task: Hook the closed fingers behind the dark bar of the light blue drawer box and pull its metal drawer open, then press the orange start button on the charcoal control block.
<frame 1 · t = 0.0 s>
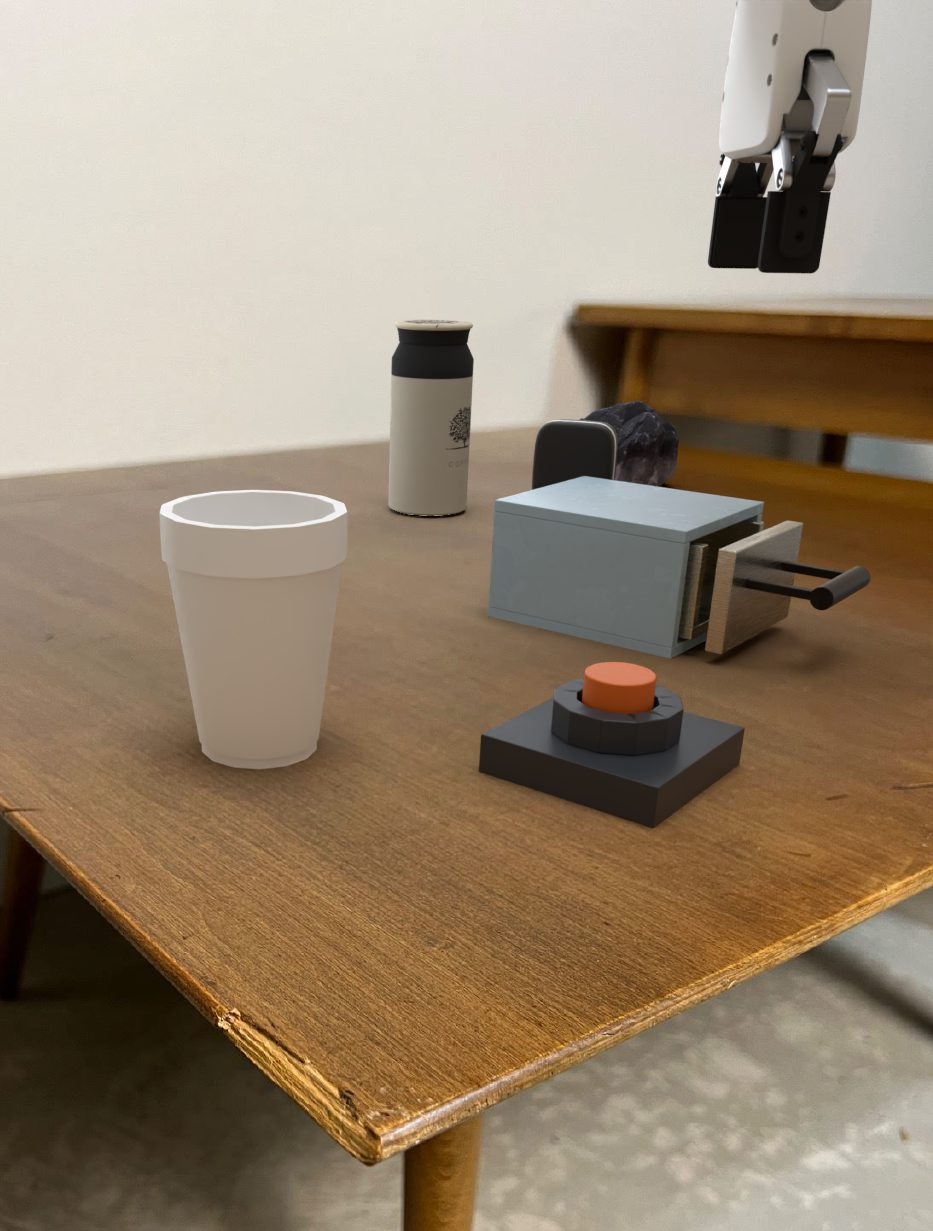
hand: (758, 269, 70), 24 cm above the table, tool pointing down, fingers open, 9 cm apart
crystal cluster: (611, 484, 137), on the table
travel mug: (427, 511, 122), on the table
light blue drawer box: (617, 617, 88), on the table
foam cup: (259, 749, 65), on the table
metal drawer: (709, 576, 83), point 4 cm above the table, slide at 2.0 cm
control block: (610, 769, 63), on the table
start button: (618, 689, 61), point 4 cm above the table, slide at 0.1 cm
battery charger: (567, 554, 107), on the table
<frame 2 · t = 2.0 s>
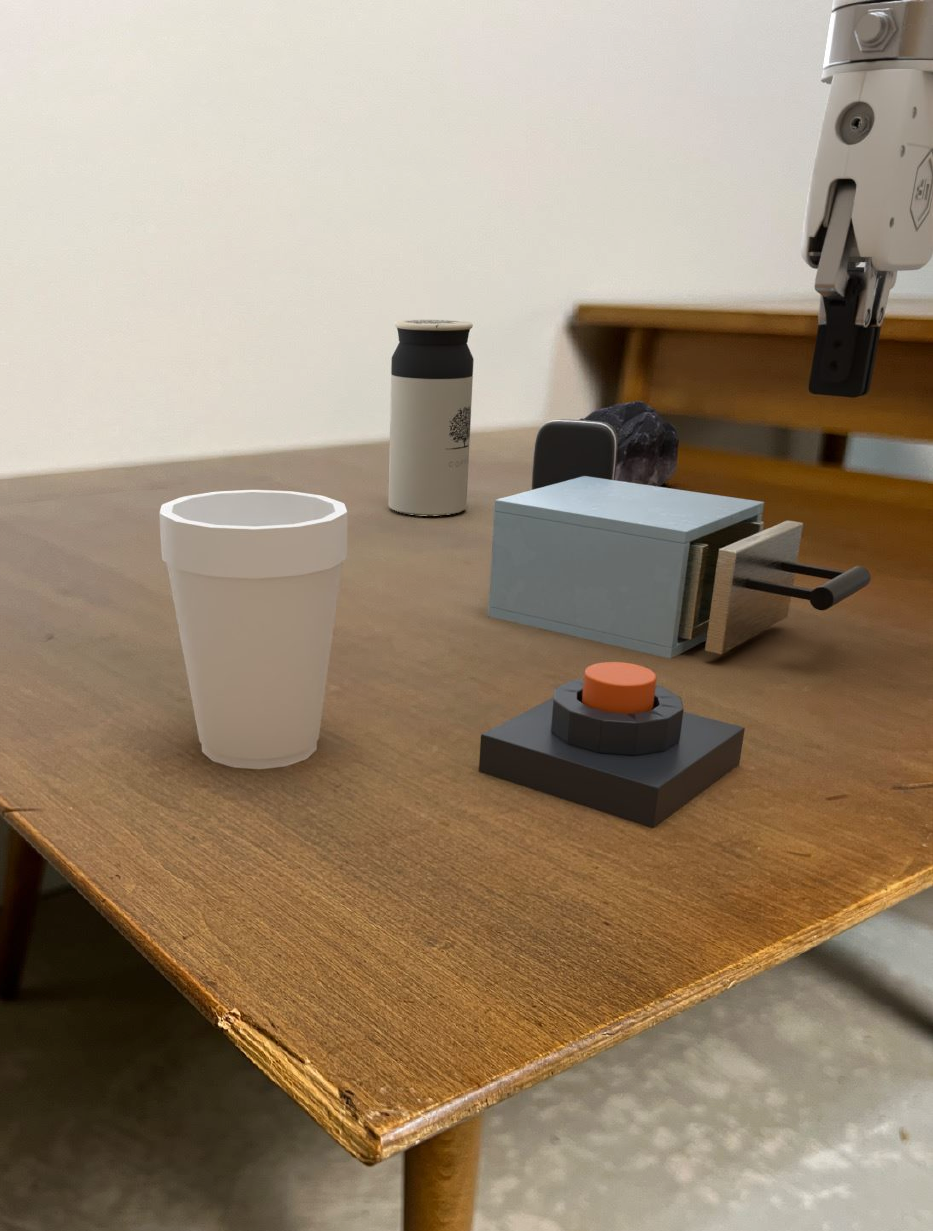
hand: (837, 393, 74), 17 cm above the table, tool pointing down, fingers closed
nothing on the table moved.
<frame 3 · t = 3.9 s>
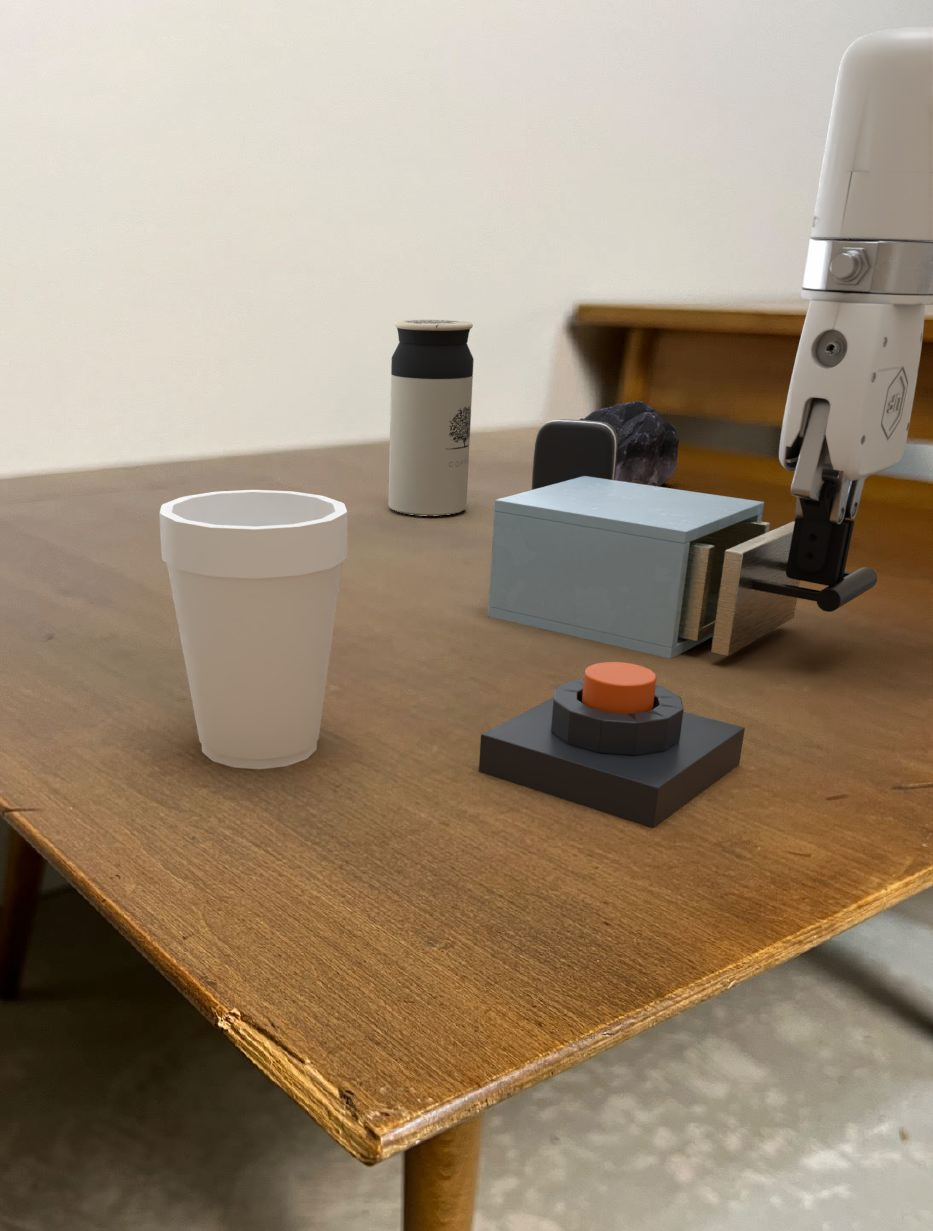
hand: (813, 578, 78), 5 cm above the table, tool pointing down, fingers closed
metal drawer: (715, 577, 83), point 4 cm above the table, slide at 2.4 cm, touching gripper
everything else where it was.
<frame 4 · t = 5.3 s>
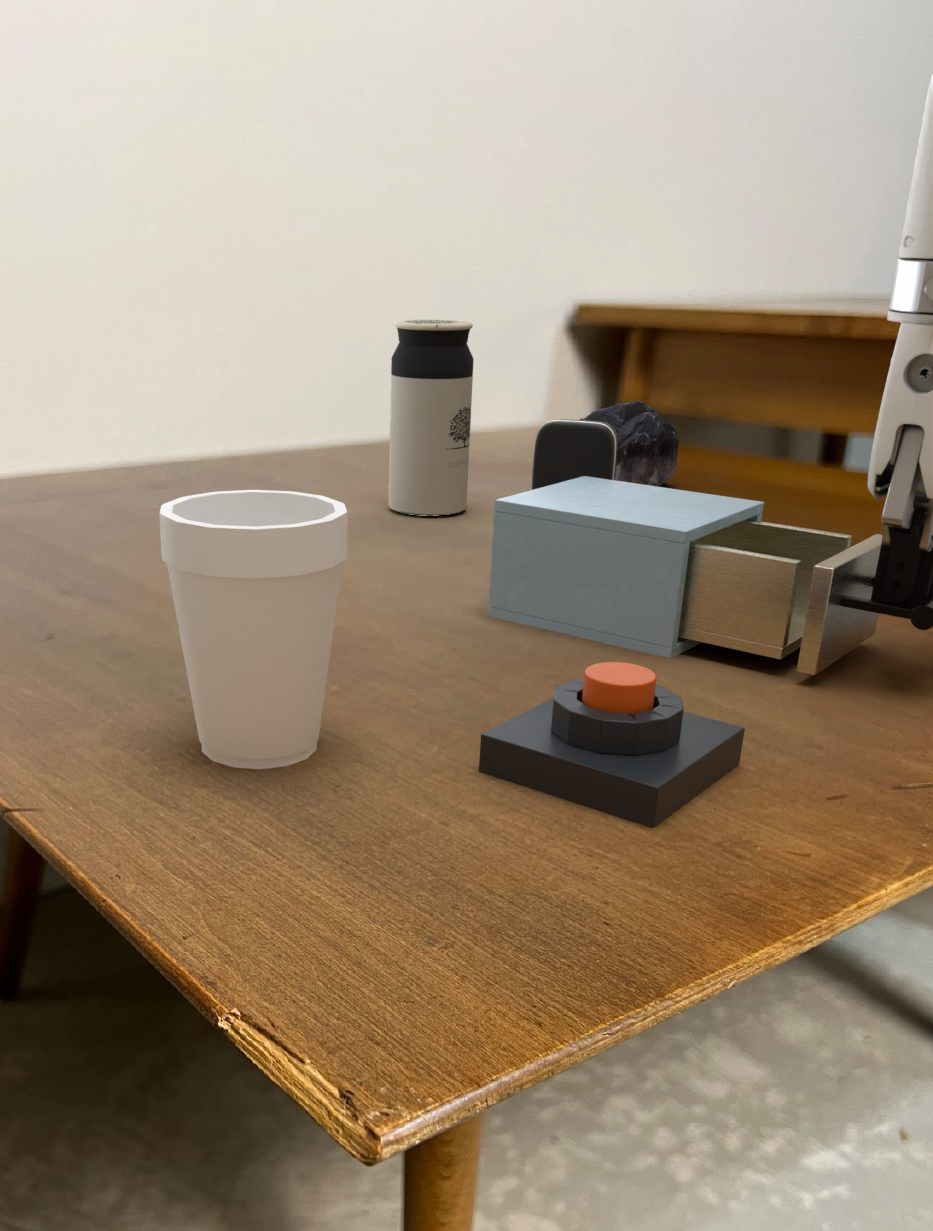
hand: (899, 607, 75), 5 cm above the table, tool pointing down, fingers closed
metal drawer: (796, 592, 79), point 4 cm above the table, slide at 8.1 cm, touching gripper
everything else where it was.
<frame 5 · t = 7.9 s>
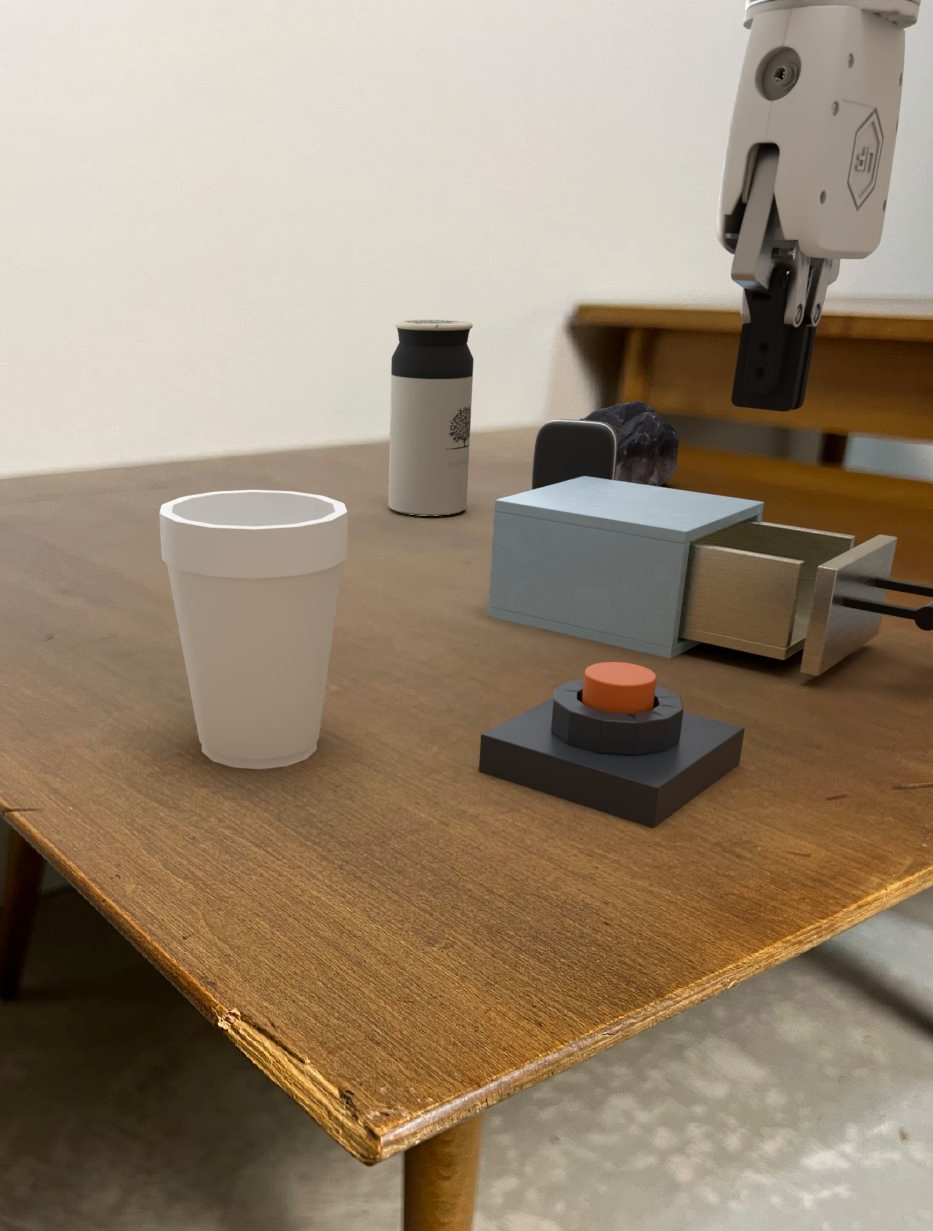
hand: (766, 406, 61), 18 cm above the table, tool pointing down, fingers closed
metal drawer: (800, 593, 79), point 4 cm above the table, slide at 8.3 cm
everything else where it was.
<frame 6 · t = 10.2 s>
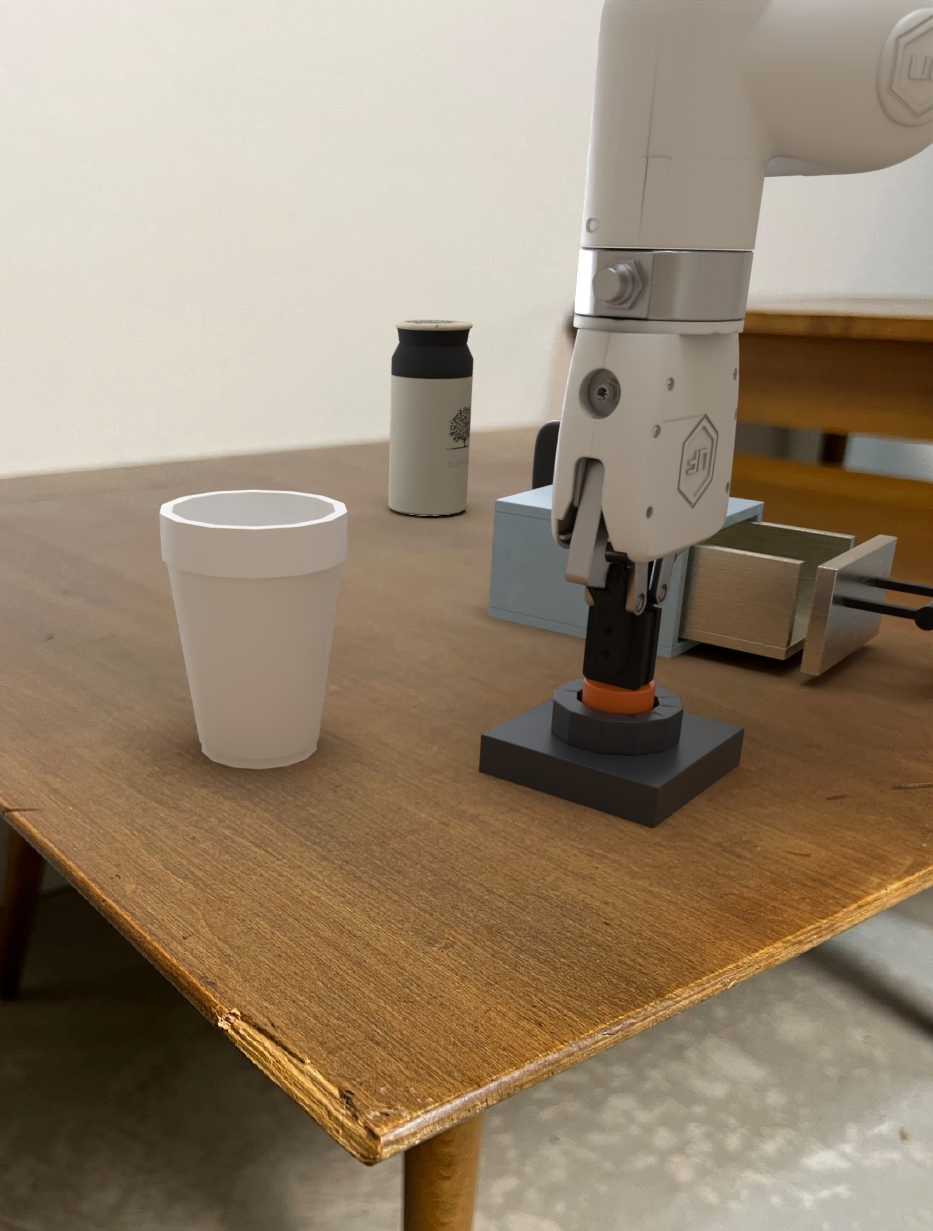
hand: (617, 680, 61), 5 cm above the table, tool pointing down, fingers closed
start button: (618, 696, 62), point 4 cm above the table, slide at -0.3 cm, touching gripper
everything else where it was.
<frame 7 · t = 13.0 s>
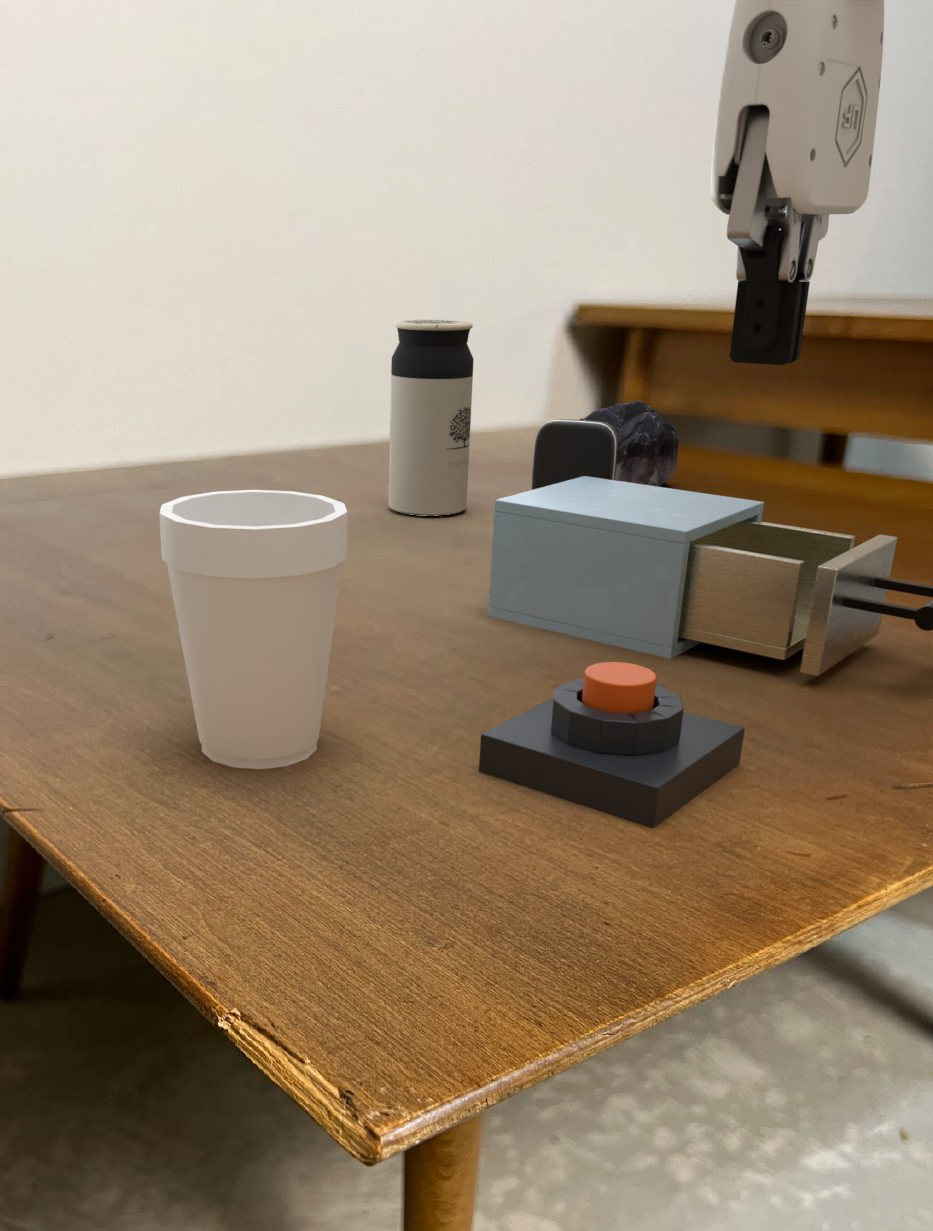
hand: (763, 361, 64), 20 cm above the table, tool pointing down, fingers closed
start button: (618, 689, 61), point 4 cm above the table, slide at 0.1 cm
everything else where it was.
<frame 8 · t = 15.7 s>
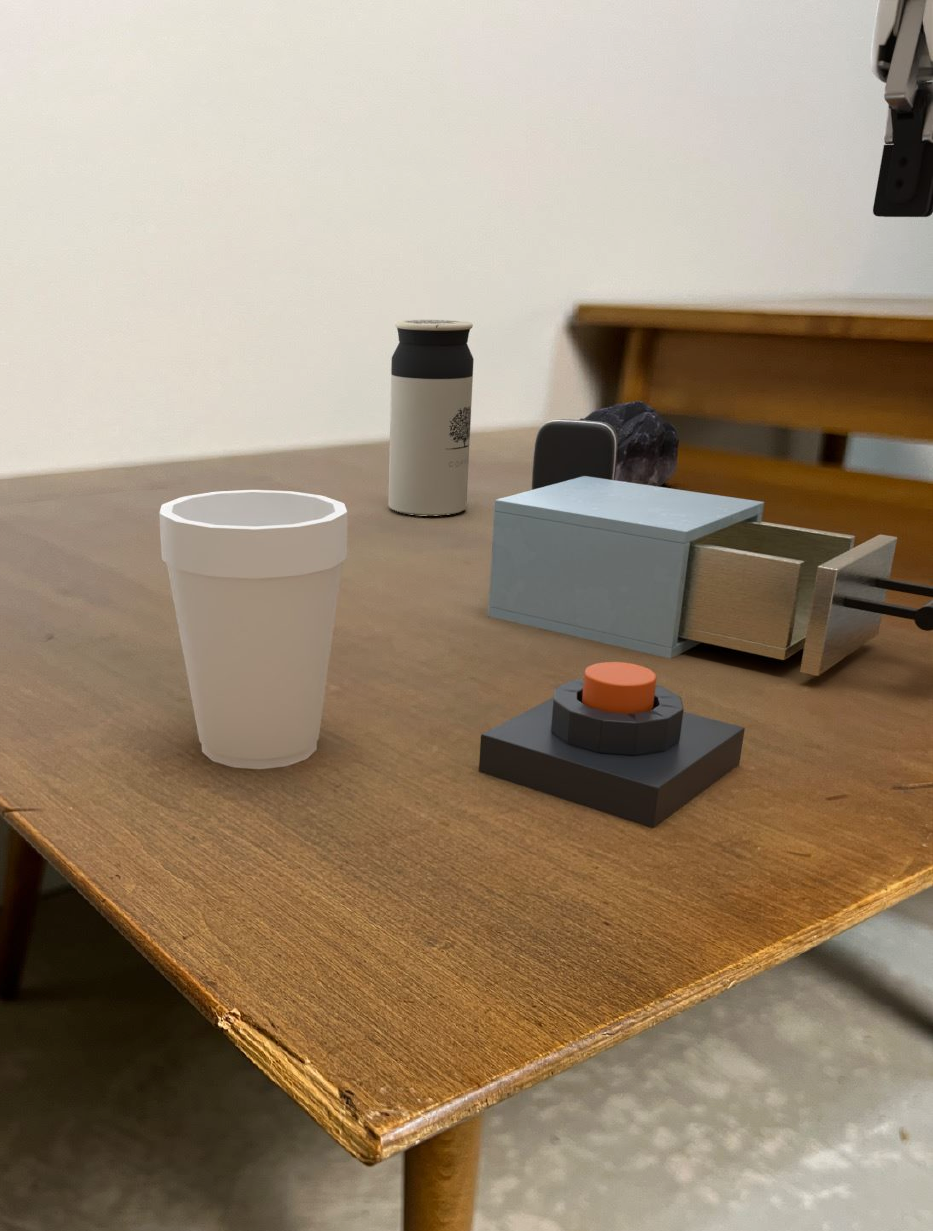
hand: (902, 215, 75), 27 cm above the table, tool pointing down, fingers closed
nothing on the table moved.
at the end: metal drawer slide at 8.3 cm; start button pushed in 1.1 cm at the most during the clip, back to where it started at the end; start button slide at 0.1 cm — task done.
